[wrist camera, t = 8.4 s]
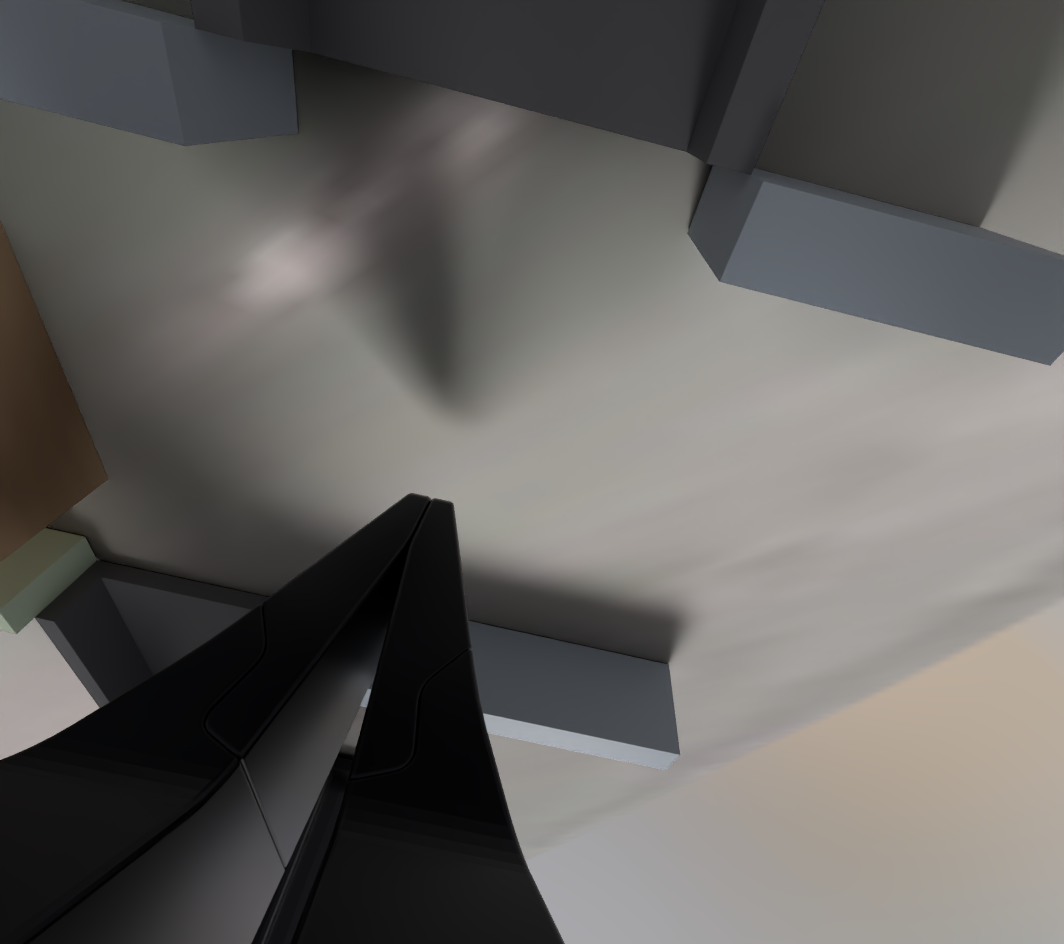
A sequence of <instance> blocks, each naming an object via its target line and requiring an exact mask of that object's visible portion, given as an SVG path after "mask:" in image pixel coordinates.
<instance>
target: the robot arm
mask: <svg viewBox="0 0 1064 944" xmlns="http://www.w3.org/2000/svg"><path fill="white" fill-rule="evenodd" d="M471 648H472V644H471V637H470V629H469V621H468V613H467V605H466V597H465V589H464V582H463V574H462V566H461V558H460V550H459V542H458V534H457V527H456V519H455V511H454V505H453V503H452V502H450V501H445V500H441V499H436V498H434V499H432V500H431V499H430V498H429V497H428V496H423V495H419V494H414V493H410V494H408V495H406V496H405V497H404V498H402V499H401V500H400V501H398V502H397V503H396V504H394V505H393V506H392V507H390V508H389V509H387V510H386V511H385V512H383V513H382V514H381V515H379V516H378V517H377V518H375V519H374V520H373V521H371V522H370V523H369V524H367V525H366V526H364V527H363V528H362V529H360V530H359V531H358V532H356V533H355V534H354V535H352V536H351V537H350V538H348V539H347V540H346V541H344V542H343V543H341V544H340V545H339V546H337V547H336V548H335V549H333V550H332V551H331V552H329V553H328V554H327V555H325V556H324V557H323V558H321V559H320V560H318V561H317V562H316V563H314V564H313V565H312V566H310V567H309V568H308V569H306V570H305V571H304V572H302V573H301V574H300V575H298V576H297V577H295V578H294V579H293V580H291V581H290V582H289V583H287V584H286V585H285V586H283V587H282V588H281V589H279V590H278V591H277V592H275V593H274V594H272V595H271V596H270V597H268V598H267V599H266V600H264V601H263V606H262V605H257V606H256V607H255V608H253V609H252V610H251V611H249V612H248V613H246V614H245V615H244V616H242V617H241V618H240V619H238V620H237V621H235V622H234V623H233V624H231V625H230V626H228V627H227V628H225V629H224V630H223V631H221V632H220V633H218V634H217V635H216V636H214V637H213V638H211V639H210V640H208V641H207V642H205V643H204V644H202V645H201V646H199V647H198V648H196V649H194V650H193V651H191V652H190V653H188V654H187V655H185V656H184V657H182V658H180V659H179V660H177V661H176V662H174V663H173V664H171V665H169V666H168V667H166V668H165V669H163V670H161V671H160V672H158V673H156V674H155V675H153V676H152V677H150V678H148V679H147V680H145V681H143V682H142V683H140V684H138V685H137V686H135V687H134V688H132V689H130V690H129V691H127V692H125V693H124V694H122V695H120V696H119V697H117V698H116V699H114V700H112V701H111V702H109V703H107V704H106V705H104V706H102V707H101V708H99V709H98V710H96V711H94V712H93V713H91V714H89V715H88V716H86V717H85V718H83V719H81V720H80V721H78V722H76V723H75V724H73V725H71V726H70V727H68V728H66V729H64V730H63V731H61V732H59V733H57V734H56V735H54V736H52V737H50V738H48V739H46V740H44V741H42V742H40V743H38V744H36V745H34V746H32V747H30V748H28V749H26V750H23V751H21V752H19V753H17V754H14V755H12V756H9V757H7V758H4V759H2V760H0V944H565V943H564V941H563V939H562V937H561V935H560V933H559V931H558V929H557V927H556V925H555V923H554V921H553V919H552V917H551V915H550V913H549V910H548V908H547V906H546V904H545V902H544V900H543V898H542V896H541V894H540V892H539V890H538V888H537V885H536V883H535V881H534V879H533V877H532V875H531V873H530V871H529V869H528V866H527V864H526V861H525V859H524V856H523V853H522V850H521V848H520V845H519V842H518V839H517V836H516V833H515V830H514V827H513V823H512V820H511V817H510V813H509V810H508V806H507V802H506V799H505V795H504V791H503V788H502V784H501V780H500V777H499V773H498V769H497V766H496V762H495V758H494V755H493V751H492V747H491V744H490V740H489V736H488V733H487V728H486V724H485V720H484V715H483V711H482V707H481V703H480V698H479V692H478V685H477V679H476V673H475V666H474V658H473V651H472V650H471ZM375 672H376V673H375ZM374 674H375V677H374V681H373V685H372V689H371V692H370V696H369V700H368V704H367V708H366V712H365V715H364V719H363V723H362V727H361V731H360V735H359V738H358V742H357V746H356V750H355V754H354V758H353V760H349V759H344V758H339V757H337V755H338V753H339V751H340V749H341V746H342V744H343V742H344V740H345V738H346V735H347V733H348V731H349V729H350V727H351V725H352V722H353V720H354V718H355V716H356V714H357V711H358V709H359V707H360V705H361V703H362V701H363V698H364V696H365V694H366V692H367V690H368V687H369V685H370V683H371V681H372V679H373V676H374Z"/></svg>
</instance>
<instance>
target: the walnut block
mask: <svg viewBox="0 0 1064 944" xmlns="http://www.w3.org/2000/svg"><path fill="white" fill-rule="evenodd" d="M107 479H108V477H107V475H106V472H105V470H104V468H103V465H102V463H101V460H100V458H99V456H98V453H97V451H96V449H95V446H94V444H93V441H92V439H91V437H90V434H89V432H88V429H87V427H86V425H85V422H84V420H83V418H82V415H81V413H80V410H79V408H78V406H77V403H76V401H75V398H74V396H73V394H72V391H71V389H70V387H69V384H68V382H67V379H66V377H65V375H64V372H63V370H62V367H61V365H60V363H59V360H58V358H57V356H56V353H55V351H54V348H53V346H52V344H51V341H50V339H49V336H48V334H47V332H46V329H45V327H44V325H43V322H42V320H41V317H40V315H39V313H38V310H37V308H36V306H35V303H34V301H33V298H32V296H31V294H30V291H29V289H28V286H27V284H26V282H25V279H24V277H23V275H22V272H21V270H20V267H19V265H18V263H17V260H16V258H15V255H14V253H13V251H12V248H11V246H10V244H9V241H8V239H7V236H6V234H5V232H4V229H3V227H2V224H1V222H0V562H1V561H3V560H4V559H5V558H7V557H8V556H9V555H11V554H12V553H13V552H14V551H16V550H17V549H18V548H20V547H21V546H22V545H23V544H25V543H26V542H27V541H29V540H30V539H31V538H32V537H34V536H35V535H36V534H38V533H39V532H40V531H42V530H43V529H44V528H45V527H47V526H48V525H49V524H51V523H52V522H53V521H54V520H56V519H57V518H58V517H60V516H61V515H62V514H63V513H65V512H66V511H67V510H69V509H70V508H71V507H73V506H74V505H75V504H76V503H78V502H79V501H80V500H82V499H83V498H84V497H85V496H87V495H88V494H89V493H91V492H92V491H93V490H95V489H96V488H97V487H98V486H100V485H101V484H102V483H104V482H105V481H106V480H107Z"/></svg>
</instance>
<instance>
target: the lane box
mask: <svg viewBox="0 0 1064 944" xmlns="http://www.w3.org/2000/svg"><path fill="white" fill-rule="evenodd" d="M824 1H825V0H191V6H192V12H193V18H194V20H193V19H189V18H186V17H182V16H178V15H174V14H170V13H167V12H163V11H159V10H155V9H151V8H148V7H144V6H140V5H136V4H133V3H129V2H125V1H121V0H0V99H2V100H6V101H10V102H14V103H18V104H22V105H26V106H30V107H33V108H37V109H41V110H45V111H49V112H53V113H57V114H61V115H65V116H69V117H73V118H77V119H81V120H85V121H89V122H93V123H96V124H100V125H104V126H108V127H112V128H116V129H120V130H124V131H128V132H132V133H136V134H140V135H144V136H148V137H152V138H156V139H160V140H163V141H167V142H171V143H175V144H179V145H183V146H189V145H198V144H207V143H216V142H225V141H234V140H243V139H252V138H261V137H270V136H279V135H288V134H297V133H298V124H297V110H296V97H295V84H294V70H293V57H292V49H293V50H299V51H306V52H311V53H315V54H319V55H323V56H327V57H330V58H334V59H338V60H342V61H345V62H349V63H353V64H357V65H361V66H364V67H368V68H372V69H376V70H379V71H383V72H387V73H391V74H395V75H398V76H402V77H406V78H410V79H413V80H417V81H421V82H425V83H429V84H432V85H436V86H440V87H444V88H448V89H451V90H455V91H459V92H463V93H466V94H470V95H474V96H478V97H482V98H485V99H489V100H493V101H497V102H500V103H504V104H508V105H512V106H516V107H519V108H523V109H527V110H531V111H535V112H538V113H542V114H546V115H550V116H553V117H557V118H561V119H565V120H569V121H572V122H576V123H580V124H584V125H587V126H591V127H595V128H599V129H603V130H606V131H610V132H614V133H618V134H621V135H625V136H629V137H633V138H637V139H640V140H644V141H648V142H652V143H656V144H659V145H663V146H667V147H671V148H674V149H678V150H682V151H686V152H688V153H690V154H691V155H693V156H695V157H697V158H698V159H700V160H702V161H703V162H705V163H707V164H711V165H713V167H712V169H711V172H710V175H709V177H708V180H707V183H706V185H705V188H704V191H703V193H702V196H701V199H700V201H699V204H698V207H697V209H696V212H695V215H694V217H693V220H692V223H691V225H690V228H689V231H688V233H687V234H688V235H689V237H690V238H691V240H692V241H693V243H694V244H695V246H696V247H697V249H698V250H699V252H700V253H701V255H702V256H703V258H704V259H705V261H706V262H707V264H708V265H709V267H710V268H711V270H712V271H713V273H714V274H715V276H716V277H717V279H718V280H719V282H723V283H727V284H731V285H735V286H739V287H743V288H747V289H751V290H754V291H758V292H762V293H766V294H770V295H774V296H778V297H782V298H786V299H790V300H794V301H798V302H802V303H806V304H810V305H814V306H817V307H821V308H825V309H829V310H833V311H837V312H841V313H845V314H849V315H853V316H857V317H861V318H865V319H869V320H873V321H877V322H881V323H884V324H888V325H892V326H896V327H900V328H904V329H908V330H912V331H916V332H920V333H924V334H928V335H932V336H936V337H940V338H944V339H948V340H951V341H955V342H959V343H963V344H967V345H971V346H975V347H979V348H983V349H987V350H991V351H995V352H999V353H1003V354H1007V355H1011V356H1014V357H1018V358H1022V359H1026V360H1030V361H1034V362H1038V363H1042V364H1046V365H1051V364H1052V363H1053V362H1054V361H1055V360H1056V359H1057V358H1058V357H1059V356H1060V355H1061V354H1062V353H1063V351H1064V255H1061V254H1058V253H1055V252H1052V251H1049V250H1046V249H1043V248H1040V247H1037V246H1034V245H1031V244H1028V243H1025V242H1022V241H1019V240H1016V239H1013V238H1010V237H1007V236H1004V235H1001V234H998V233H995V232H992V231H989V230H986V229H983V228H979V227H975V226H972V225H968V224H964V223H960V222H957V221H953V220H949V219H945V218H941V217H938V216H934V215H930V214H926V213H923V212H919V211H915V210H911V209H907V208H904V207H900V206H896V205H892V204H889V203H885V202H881V201H877V200H873V199H870V198H866V197H862V196H858V195H855V194H851V193H847V192H843V191H839V190H836V189H832V188H828V187H824V186H820V185H817V184H813V183H809V182H805V181H802V180H798V179H794V178H790V177H786V176H783V175H779V174H775V173H771V172H768V171H764V170H760V169H756V168H754V167H755V165H756V162H757V160H758V158H759V155H760V153H761V151H762V148H763V146H764V143H765V141H766V139H767V136H768V134H769V132H770V129H771V127H772V124H773V122H774V120H775V117H776V115H777V113H778V110H779V108H780V105H781V103H782V101H783V98H784V96H785V94H786V91H787V89H788V86H789V84H790V82H791V79H792V77H793V75H794V72H795V70H796V67H797V65H798V63H799V60H800V58H801V56H802V53H803V51H804V48H805V46H806V44H807V41H808V39H809V37H810V34H811V32H812V29H813V27H814V25H815V22H816V20H817V18H818V15H819V13H820V10H821V8H822V6H823V3H824ZM267 598H268V597H265V596H260V595H255V594H251V593H246V592H242V591H237V590H232V589H228V588H223V587H219V586H214V585H209V584H205V583H200V582H196V581H191V580H186V579H182V578H177V577H173V576H168V575H163V574H159V573H154V572H150V571H145V570H140V569H136V568H131V567H127V566H122V565H117V564H113V563H108V562H104V561H99V560H97V559H96V557H95V555H94V553H93V551H92V549H91V547H90V545H89V543H88V542H87V540H86V538H85V537H84V536H79V535H75V534H70V533H66V532H61V531H57V530H52V529H48V528H44V529H43V530H42V531H40V532H39V533H38V534H36V535H35V536H34V537H32V538H31V539H30V540H29V541H27V542H26V543H25V544H23V545H22V546H21V547H20V548H18V549H17V550H16V551H14V552H13V553H12V554H11V555H9V556H8V557H7V558H5V559H4V560H3V561H1V562H0V631H4V632H9V633H14V634H17V633H18V632H19V631H20V630H22V629H23V628H24V627H25V626H26V625H27V624H28V623H29V622H30V621H31V620H32V619H34V618H35V619H36V620H37V621H38V623H39V624H40V626H41V627H42V628H43V630H44V631H45V632H46V634H47V635H48V637H49V638H50V639H51V641H52V642H53V644H54V645H55V646H56V648H57V649H58V651H59V652H60V653H61V655H62V656H63V657H64V659H65V660H66V662H67V663H68V664H69V666H70V667H71V669H72V670H73V671H74V673H75V674H76V676H77V677H78V678H79V680H80V681H81V682H82V684H83V685H84V687H85V688H86V689H87V691H88V692H89V694H90V695H91V696H92V698H93V699H94V701H95V702H96V703H97V705H98V706H99V707H100V708H101V707H102V706H104V705H106V704H107V703H109V702H111V701H112V700H114V699H116V698H117V697H119V696H120V695H122V694H124V693H125V692H127V691H129V690H130V689H132V688H134V687H135V686H137V685H138V684H140V683H142V682H143V681H145V680H147V679H148V678H150V677H152V676H153V675H155V674H156V673H158V672H160V671H161V670H163V669H165V668H166V667H168V666H169V665H171V664H173V663H174V662H176V661H177V660H179V659H180V658H182V657H184V656H185V655H187V654H188V653H190V652H191V651H193V650H194V649H196V648H198V647H199V646H201V645H202V644H204V643H205V642H207V641H208V640H210V639H211V638H213V637H214V636H216V635H217V634H218V633H220V632H221V631H223V630H224V629H225V628H227V627H228V626H230V625H231V624H233V623H234V622H235V621H237V620H238V619H240V618H241V617H242V616H244V615H245V614H246V613H248V612H249V611H251V610H252V609H253V608H255V607H256V606H257V605H262V606H263V601H264V600H266V599H267ZM469 629H470V637H471V644H472V648H471V650H472V651H473V658H474V666H475V673H476V679H477V685H478V692H479V698H480V703H481V707H482V711H483V715H484V720H485V724H486V728H487V733H490V734H495V735H499V736H504V737H509V738H514V739H519V740H523V741H528V742H533V743H538V744H542V745H547V746H552V747H557V748H561V749H566V750H571V751H576V752H580V753H585V754H590V755H595V756H599V757H604V758H609V759H614V760H619V761H623V762H628V763H633V764H638V765H642V766H647V767H652V768H657V769H661V770H666V769H667V768H668V767H669V766H670V765H671V764H672V763H673V762H674V761H675V760H676V759H677V758H678V757H679V756H680V750H679V742H678V734H677V726H676V718H675V710H674V702H673V694H672V686H671V678H670V670H669V665H668V664H663V663H659V662H654V661H649V660H645V659H640V658H636V657H631V656H627V655H622V654H618V653H613V652H608V651H604V650H599V649H595V648H590V647H586V646H581V645H577V644H572V643H567V642H563V641H558V640H554V639H549V638H545V637H540V636H535V635H531V634H526V633H522V632H517V631H513V630H508V629H504V628H499V627H494V626H490V625H485V624H481V623H476V622H472V621H469ZM375 673H376V672H375ZM374 677H375V674H374V676H373V679H372V681H371V683H370V685H369V687H368V690H367V692H366V694H365V696H364V698H363V701H362V703H361V705H360V706H361V707H366V708H367V704H368V700H369V696H370V692H371V689H372V685H373V681H374Z"/></svg>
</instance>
